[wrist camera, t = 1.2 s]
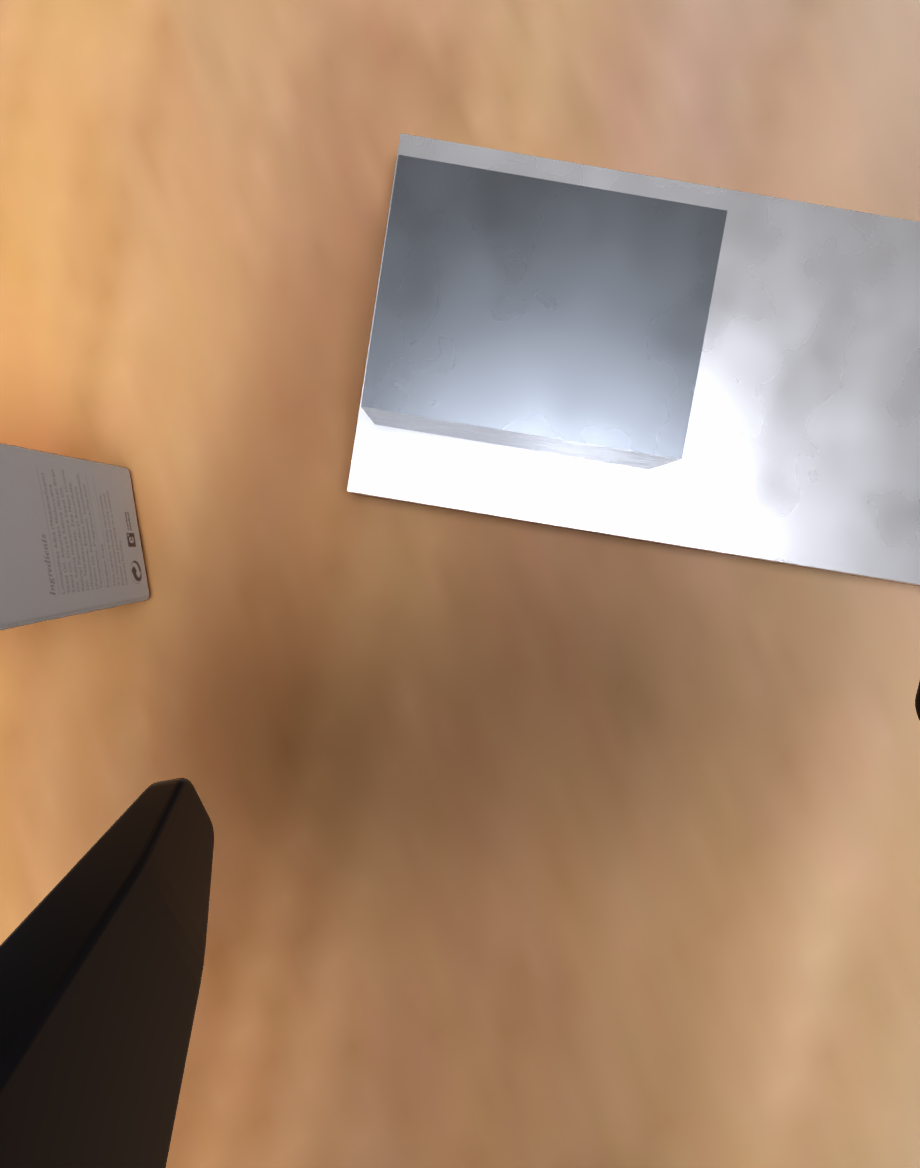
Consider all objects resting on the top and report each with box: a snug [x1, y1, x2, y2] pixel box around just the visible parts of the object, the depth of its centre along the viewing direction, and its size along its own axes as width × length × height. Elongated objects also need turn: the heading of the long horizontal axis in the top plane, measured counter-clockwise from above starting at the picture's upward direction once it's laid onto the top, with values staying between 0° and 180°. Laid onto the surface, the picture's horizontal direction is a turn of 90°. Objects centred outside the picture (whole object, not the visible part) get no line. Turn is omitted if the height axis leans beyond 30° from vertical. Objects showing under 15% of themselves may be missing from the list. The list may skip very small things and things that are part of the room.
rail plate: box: [347, 134, 920, 586], centre depth 20 cm, size 10×27×4 cm, turn 81°
